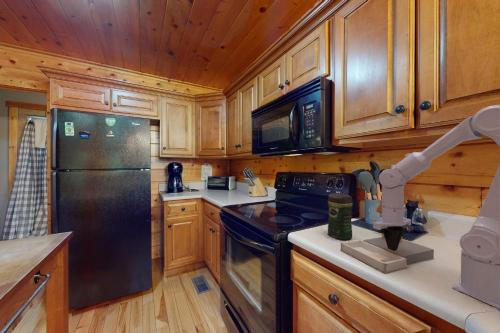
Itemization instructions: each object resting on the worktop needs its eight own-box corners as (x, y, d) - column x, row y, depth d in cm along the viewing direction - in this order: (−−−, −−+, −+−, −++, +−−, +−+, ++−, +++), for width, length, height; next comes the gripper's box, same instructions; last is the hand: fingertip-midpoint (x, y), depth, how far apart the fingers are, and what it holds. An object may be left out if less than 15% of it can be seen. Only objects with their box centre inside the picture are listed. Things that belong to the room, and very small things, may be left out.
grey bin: (406, 268, 60) (406, 258, 60) (384, 273, 57) (384, 264, 57) (359, 246, 75) (359, 239, 75) (340, 250, 72) (340, 242, 72)
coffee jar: (356, 239, 83) (356, 194, 83) (341, 241, 81) (341, 195, 80) (338, 231, 92) (338, 191, 92) (324, 234, 90) (324, 192, 89)
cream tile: (378, 260, 60) (378, 267, 60) (389, 258, 61) (389, 264, 61) (365, 254, 64) (365, 260, 64) (376, 252, 65) (375, 258, 65)
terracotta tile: (402, 242, 72) (402, 236, 72) (393, 243, 71) (393, 238, 71) (390, 237, 77) (390, 232, 77) (381, 239, 75) (381, 234, 75)
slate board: (433, 258, 66) (433, 249, 66) (402, 266, 61) (402, 256, 61) (391, 242, 79) (391, 235, 79) (363, 248, 74) (363, 240, 74)
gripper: (395, 203, 70) (395, 241, 70) (364, 206, 65) (364, 247, 65) (418, 207, 63) (417, 249, 63) (385, 210, 58) (385, 257, 59)
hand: (392, 249), depth 64 cm, fingers closed
